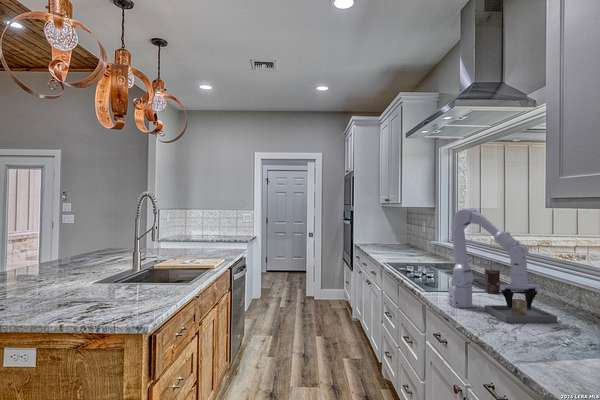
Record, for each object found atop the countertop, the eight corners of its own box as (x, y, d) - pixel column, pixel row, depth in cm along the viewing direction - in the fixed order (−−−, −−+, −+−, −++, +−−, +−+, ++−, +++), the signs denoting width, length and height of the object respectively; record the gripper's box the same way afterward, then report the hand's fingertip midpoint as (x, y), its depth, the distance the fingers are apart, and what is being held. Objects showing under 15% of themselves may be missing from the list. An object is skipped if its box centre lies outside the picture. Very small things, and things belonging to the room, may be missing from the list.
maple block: (516, 316, 148) (516, 301, 148) (511, 313, 152) (510, 298, 152) (526, 316, 148) (526, 301, 148) (520, 313, 152) (520, 298, 152)
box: (488, 293, 189) (488, 270, 189) (484, 291, 194) (484, 268, 194) (500, 293, 189) (500, 270, 189) (496, 291, 193) (496, 268, 194)
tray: (505, 323, 142) (505, 316, 142) (484, 311, 158) (484, 305, 158) (557, 322, 142) (557, 316, 142) (530, 310, 158) (530, 305, 158)
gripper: (506, 276, 146) (506, 310, 146) (542, 275, 147) (543, 310, 146) (496, 272, 153) (497, 305, 153) (531, 272, 154) (531, 305, 153)
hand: (518, 307), depth 150 cm, fingers open, 7 cm apart
